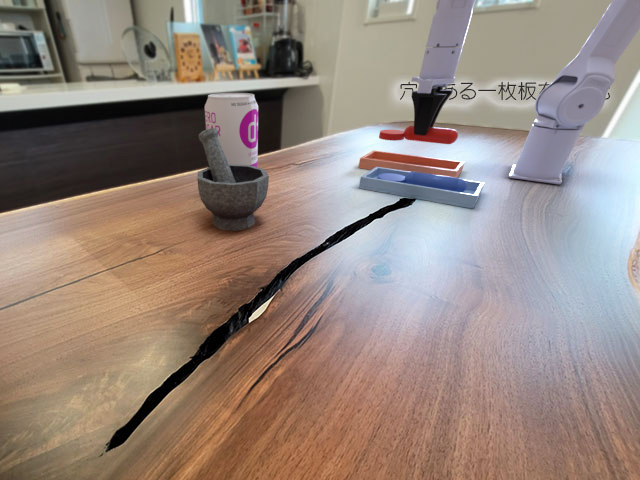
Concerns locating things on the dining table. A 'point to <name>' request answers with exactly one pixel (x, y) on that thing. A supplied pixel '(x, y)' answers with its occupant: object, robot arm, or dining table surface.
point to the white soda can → (235, 125)
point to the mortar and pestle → (230, 187)
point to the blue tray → (421, 189)
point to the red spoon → (432, 135)
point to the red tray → (411, 163)
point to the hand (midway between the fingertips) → (421, 133)
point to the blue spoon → (427, 180)
